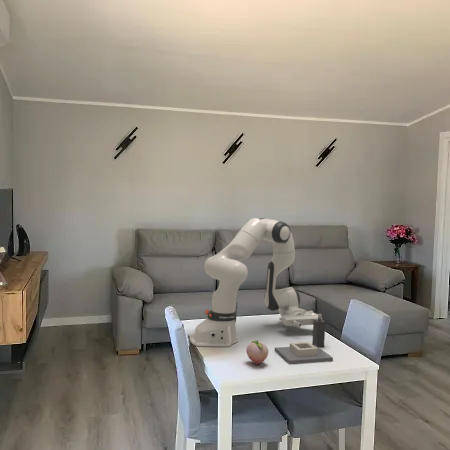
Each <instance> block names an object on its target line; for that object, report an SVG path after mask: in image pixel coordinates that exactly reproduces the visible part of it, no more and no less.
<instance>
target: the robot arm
mask: <svg viewBox="0 0 450 450" xmlns="http://www.w3.org/2000/svg"><path fill="white" fill-rule="evenodd" d="M261 240H263V241H266V242H271V243H272V249H273V251H272V252H273V254H272V258H271V260H270V261H269V263H268V265H267V271H266V282H265V283H266V284H265V290H264V291H265V293H264V296H263V301H264V306H265V308H266V309H268V310H270V311H272V312H274V311H277V310H278V313H279V315H280V317H279V321H281V323H282V325H283V326H286V327H298V328H300V327H302V326H313V323H314V320H315V319H318V314H319V313H315V312H314V311H313V310H312V309H311V310H310V309H304V308H300V305H301V296H300V293H299V292H298V290H297V289H296V288H295V287H293V286H289V287H283V288H281V289H276V285H277V284H276V283H277V277H278V276H279V274H280V273H281V272H282V271H284V270H285V269H287V268H289V267H290V266H291V265H293V264H294V262H295V259H296V248H295V241H294V237H293V234H292V232H291V228H290V226H289V224H288V223H286V222H284V221H282V220H281V221H280V220H276V219H271V218H257V217H253V218H250V219H249V220H248V221H247V222H246V223H245V224H244V225H243V226H242V227H241V229H240V230H239V231H238V232H237V234H236V235H235V236H234V237H233V239H232V240H231V241H230V242H229V244H228V245H226V246H225V247H224V248H223V249H222V250H220V251H219V252H217V253H216V254H215V255H213V256H210V257H208V258H206V260H205V261H204V266H203V267H204V272H205V274H206V275H207V276H208V277H211V278H212V279H214V280H217V281H219V283H218V284H219V285H218V287H217V289H216V290H215V291H214V292H213V293H212V296H211V297H212V299H211V300H212V302H211V303H212V304H211V306H212V307H211V310H209V309H205V310H204V313H205V314H206V316H207V318H205V319H204V320H203V321H201V322H200V323H198V324H197V325H196V327H195V330H194V334H191V335H190V336H189V342H190V343H191V344H192V345H193V346H196V347H219V348H220V347H228V348H229V347H231V346H232V345H234V344H236V343H238V337H237V329H236V328H237V327H236V322H237V310H236V309H237V307H236V304H237V294H238V291H239V289H240V287H241V285H242V284H243V283H244V282H245V281H246V280H247V277H248V273H249V272H248V271H249V270H248V267H247V265H245V264H244V263H243V262H242V261H244V260H247V259H249V257H250V256H251V255H252V254H253V252H254V251H255V250H256V248H257V246H259V244H260V243H261V242H262V241H261ZM321 319H322V320H323V318H321Z"/></svg>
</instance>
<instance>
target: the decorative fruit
mask: <svg viewBox="0 0 450 450" xmlns="http://www.w3.org/2000/svg"><path fill="white" fill-rule="evenodd" d="M245 352H246V355H247V357H248V358H249V360H250V361H251V362H253V363H254V364H256V365H258V364H261V363H264V362H265V360H267V357H268V356H269V348H268V346H267V345H266V344H265V343H264V342H261V341H259V339H257V340H252V341H251V342H250V343H249V344H248V345H247V347H246V349H245Z"/></svg>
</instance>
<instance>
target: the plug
mask: <svg viewBox="0 0 450 450" xmlns="http://www.w3.org/2000/svg"><path fill="white" fill-rule="evenodd" d="M317 314H318V319H315V320H314V323H313V325H312V343H311V344H312V345H316V346H317V347H319V348H325V341H326V340H325V337H326V335H325V334H326V322H327V321H326V320H324V319H323V318H322V313H317ZM321 318H322V319H321Z"/></svg>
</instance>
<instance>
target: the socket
mask: <svg viewBox="0 0 450 450" xmlns="http://www.w3.org/2000/svg"><path fill="white" fill-rule="evenodd" d="M274 352H275V353H276V354H277V355H278V356H280V358H282V359H283V360H284V361H285V362H286V363H288V364H289V365H297V364H300V365H301V364H309V363H311V364H312V363H325V362H326V361H327V362H334V357H333V356H332V355H330V354H329V353H327V352H326V351H324V350H323V348H321V347H317V346H316V345H312V343H311V342H309V341H303V342H302V341H301V342H290V343H289V346H283V347H282V346H281V347H280V346H279V347H274ZM327 362H326V363H327Z"/></svg>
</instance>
